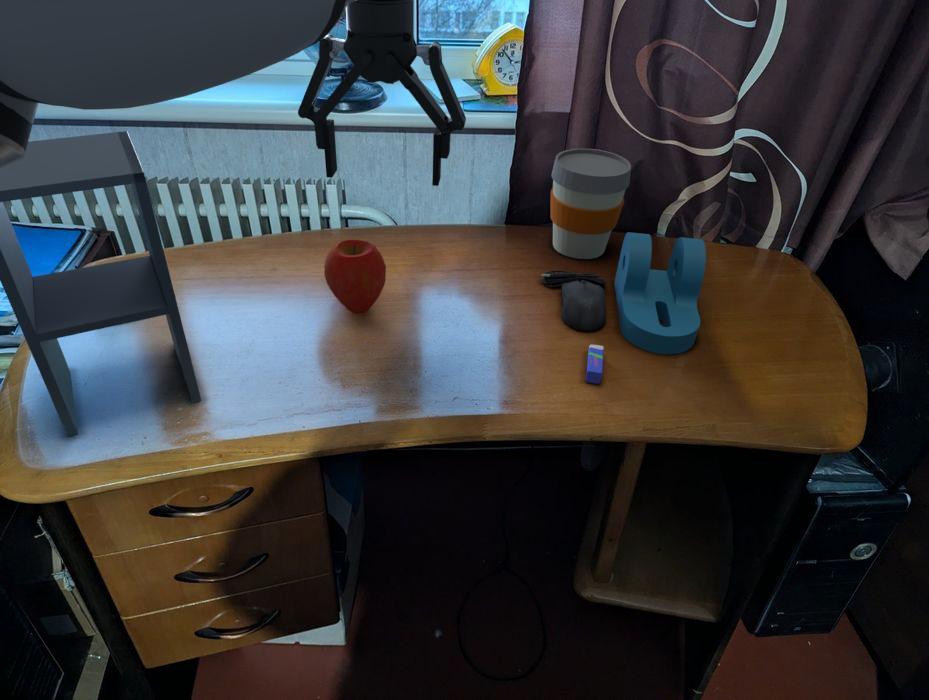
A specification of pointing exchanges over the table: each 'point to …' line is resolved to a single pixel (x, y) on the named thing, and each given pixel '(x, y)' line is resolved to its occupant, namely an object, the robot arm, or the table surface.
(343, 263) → the apple
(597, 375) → the eraser
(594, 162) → the reusable coffee cup
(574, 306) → the computer mouse
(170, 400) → the table surface
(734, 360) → the table surface
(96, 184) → the shelf
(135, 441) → the table surface
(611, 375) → the table surface
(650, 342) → the bracket
